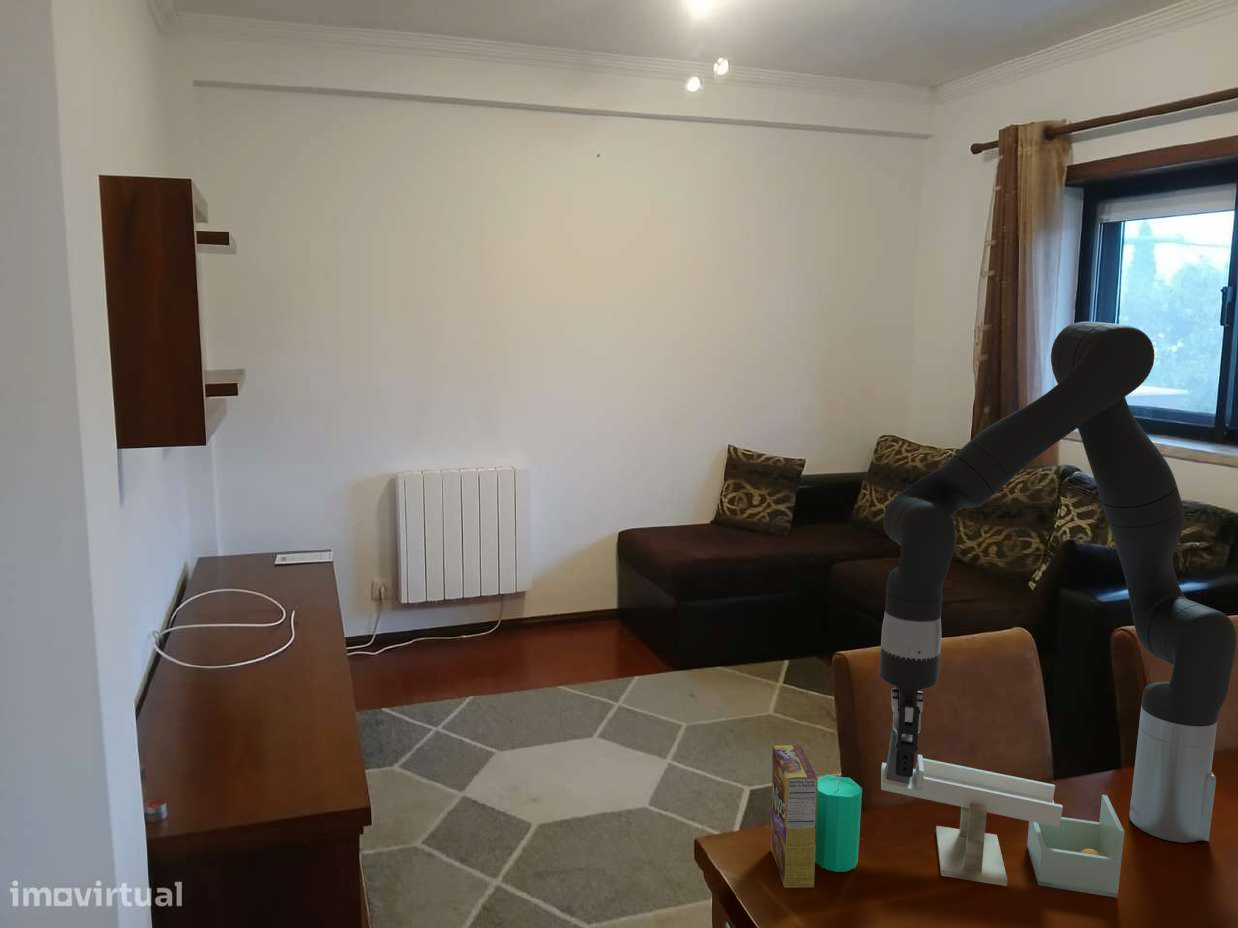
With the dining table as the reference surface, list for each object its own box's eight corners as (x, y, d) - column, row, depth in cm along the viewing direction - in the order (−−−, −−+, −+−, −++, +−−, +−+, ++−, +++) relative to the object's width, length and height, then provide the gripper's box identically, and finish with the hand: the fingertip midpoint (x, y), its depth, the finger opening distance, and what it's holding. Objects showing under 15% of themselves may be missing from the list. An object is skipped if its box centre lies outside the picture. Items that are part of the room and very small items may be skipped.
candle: (858, 874, 120) (864, 788, 118) (811, 868, 122) (816, 783, 120) (856, 848, 126) (861, 766, 124) (811, 843, 127) (816, 761, 125)
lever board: (1049, 807, 124) (1059, 754, 123) (1058, 833, 118) (1069, 778, 116) (880, 772, 130) (888, 720, 128) (880, 795, 123) (888, 742, 122)
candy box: (767, 849, 126) (771, 743, 123) (798, 848, 126) (803, 743, 124) (781, 889, 117) (786, 776, 115) (814, 888, 117) (820, 776, 115)
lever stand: (996, 839, 129) (1001, 775, 127) (1007, 886, 118) (1013, 816, 117) (935, 830, 131) (940, 767, 129) (941, 875, 120) (946, 806, 119)
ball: (1070, 855, 122) (1090, 869, 122) (1075, 868, 120) (1096, 882, 119) (1085, 839, 122) (1105, 853, 121) (1090, 852, 119) (1111, 866, 118)
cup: (1100, 857, 125) (1107, 795, 123) (1117, 897, 116) (1124, 831, 115) (1027, 845, 127) (1032, 785, 126) (1038, 884, 119) (1044, 819, 117)
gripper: (944, 668, 115) (935, 790, 117) (937, 631, 128) (929, 741, 131) (881, 661, 117) (874, 781, 119) (880, 626, 130) (874, 734, 133)
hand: (902, 760), depth 125 cm, fingers open, 8 cm apart
